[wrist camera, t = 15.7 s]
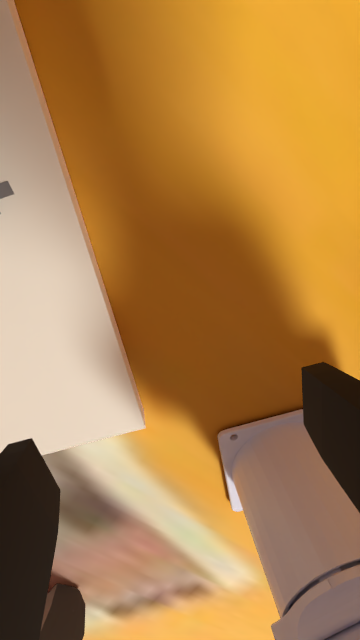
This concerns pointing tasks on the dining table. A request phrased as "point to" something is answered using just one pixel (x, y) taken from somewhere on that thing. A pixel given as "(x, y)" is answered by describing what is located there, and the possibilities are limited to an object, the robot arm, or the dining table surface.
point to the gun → (63, 614)
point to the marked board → (50, 282)
